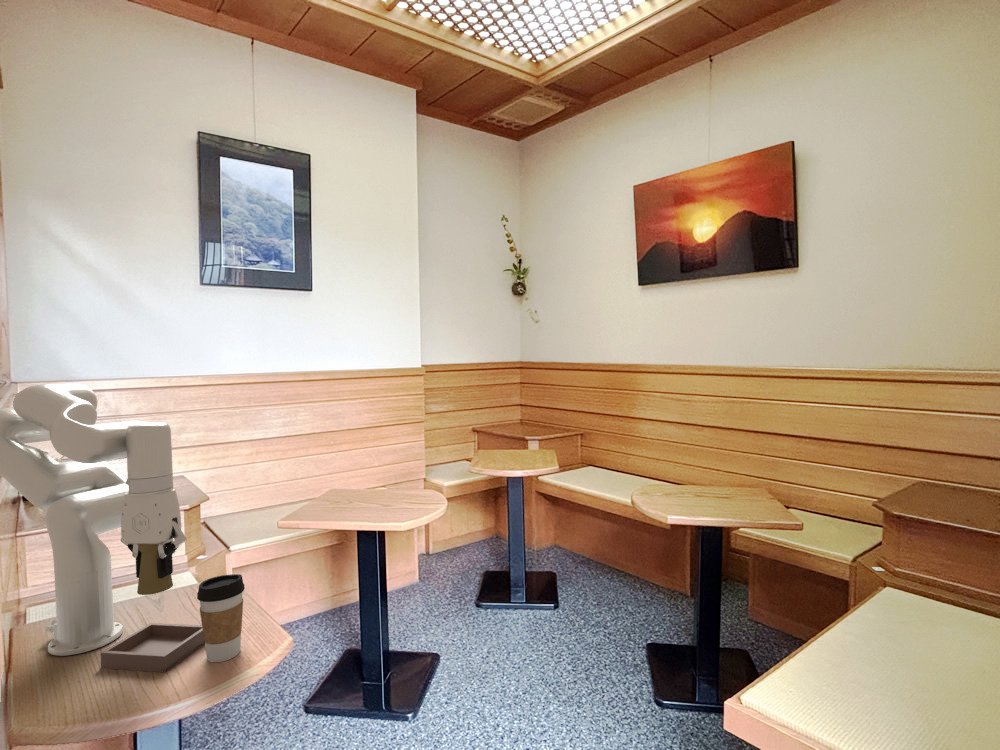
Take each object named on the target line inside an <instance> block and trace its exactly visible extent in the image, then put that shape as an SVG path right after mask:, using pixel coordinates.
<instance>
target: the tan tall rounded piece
mask: <svg viewBox="0 0 1000 750" xmlns="http://www.w3.org/2000/svg"><path fill="white" fill-rule="evenodd" d="M167 544H168V543H166V544H165V548H167ZM138 548H139V551H140V552H141V553H142V554H141V563H140V572H139V578H138V580H137V581H138V583H137V591H136V592H137V594H138V595H139V596H148V595H154V594H159V593H163V592H165V591H166V592H167V590H169V589H171V588H173V586H174V583H173V578H172V574H170V575H168V576H166V577H164V578H158V572H157V559H158V558H160V556H159V551H158V545H148V544H138Z"/></svg>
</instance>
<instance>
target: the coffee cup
mask: <svg viewBox="0 0 1000 750" xmlns="http://www.w3.org/2000/svg"><path fill="white" fill-rule="evenodd" d="M243 580H244V579H243V575H242V574H239V573H238V574H236V573H235V574H231V573H230V574H224V575H222V574H221V575H218V576H213V577H211V578H208V579H205V580H203V581H202V582H200V584H199V585H198V591H197V592H196V593H197V594H196V596H197V597H196V599H197V600H198V601H199V605H200V607H199V614H200V620H201V625H202V628H203V634H204V641H205V644H204V645H205V652H206V659H207V661H208V662H210V663H221V662H225V661H228V660H231V659H233V658H235V657H236V656H237V655H239V654H240V653H241V647H242V646H241V643H242V642H241V640H242V626H243V625H242V624H243V612H244V611H243V609H244V599H243V592H244V591H245V583H244V581H243Z"/></svg>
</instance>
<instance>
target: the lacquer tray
mask: <svg viewBox="0 0 1000 750" xmlns="http://www.w3.org/2000/svg"><path fill="white" fill-rule="evenodd" d="M203 645H205V641H204V634H203V628H202V624H183V623H180V624H179V623H164V622H162V623H160V622H150V623H149V624H147V625H145V626H144V627H141V628H140V629H138V630H136V631H135V632H133V633H132V634H129V635H128V636H126V637H125V638H123V639H121V640H120V641H118V642H116V643H115V644H112V645H111V646H110V647H108V648H106V649H104V650H103V651H101V652H100V668H101V669H106V670H107V669H112V670H122V671H123V670H124V671H138V672H139V671H140V672H142V671H143V672H152V673H153V672H155V673H157V672H158V673H167V671H168V672H169V670H170V669H172V668H173V667H175V666H177V665H178V664H179V663H180V662H182V661H183V660H185V659H186V658H187V657H188V656H190V655H191V654H192V653H194V652H195V651H197V650H198V649H199V648H201V647H202V646H203Z"/></svg>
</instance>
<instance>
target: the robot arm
mask: <svg viewBox="0 0 1000 750" xmlns="http://www.w3.org/2000/svg"><path fill="white" fill-rule="evenodd" d="M12 401H13V402H12V406H13V407H4V408H3V407H2V408H0V477H2V478H3V479H4V480H6V481H7V482H8V483H9V484H10V486H12V487H13V488H14V489H15V490H16V491H17V492H19V494H20V495H22V496H23V497H24V498H25V499H26V500H27V501H28V502H29V503H31V504H32V505H33V506H34V507H36V508H37V509H40V510H45V511H46V513H45V517H44V518H45V526H46V529H47V533H48V536H49V539H50V544H51V549H52V556H53V557H52V558H53V571H54V572H53V574H54V594H55V596H54V597H55V615H56V617H55V618H53V619H52V621H51V623H50V625H49V624H48V625H47V626H46V627H45V628H44V631H45V633H53V639H51V640H50V642H49V643H48V645H47V652H48V654H50V655H52V656H56V657H58V656H60V657H61V656H66V657H67V656H72V655H78V654H79V655H80V654H82V653H87V652H90V651H93V650H96V649H98V648H99V649H100V648H102V647H103V646H106V645H108V644H110V643H112V642H113V641H114V640H117V639H118V638H119V637H120V636H121V635H122V634H123V631H124V627H123V626H124V625H123V624H122V623H120V622H118V621H117V622H116V621H114V601H113V600H114V599H113V598H114V597H113V594H114V593H113V578H112V577H113V576H112V555H111V551H110V549H109V547H108V546H107V545H106V544H105V543H104V542H103V541H102V540H101V539H100V538H99V535H101V534H104V533H105V532H109V531H112V530H115V529H116V530H117V529H120V534H121V537H120V542H121V543H122V544H124V545H125V546H126V547H127V548H128V550H129V552H131V553H132V554H131V555H132V556H131V557H133V558H134V559H135V573H136V574H135V575H136V578H137V579H139V572H140V563H141V554H142V553H141V552H140V551H139V548H138V544H148V545H158V551H159V556H160V558H158V559H157V572H158V578H164V577H166V576H168V575H170V574H171V575H172V574H173V572H174V567H173V566H174V565H173V554H176V551H177V550H178V548H180V546H182V545H183V544H184V543H186V541H187V537H186V536H185V534H184V532H183V531H182V516H181V509H180V503H179V498H178V494H177V491H176V489H174V476H173V475H174V474H173V473H174V472H173V450H172V445H173V444H172V429H171V426H170V425H169V424H168V423H167V422H161V421H157V422H154V421H153V422H146V421H141V420H129V421H121V422H120V421H118V422H108V423H107V422H106V423H99V424H96V423H97V417H98V413H97V408H98V398H97V395H96V393H95V392H94V391H93V390H92V388H90V387H89V386H87V385H84V384H81V383H59V384H57V383H56V384H50V383H49V384H36V385H31V386H28V387H25V388H23V389H21V390H20V391H19V392H18V393H17V394H16V395H15V396H14V398H13V400H12ZM48 441H50V442H51V444H52V446H53V449H54V450H55V452H57V453H58V454H59V455H62V456H63V457H65V458H67V459H69V460H72V461H73V462H58V461H57V460H55V459H54V458H53V457H51V456H50V454H48V452H45V451H43V450H41V449H40V448H37V447H34V446H31V445H27V444H32V443H33V444H34V443H40V442H48ZM123 459H125V460H126V464H127V465H126V468H127V469H126V471H127V478H125V477H124V475H122V474H121V473H120V472H119V471H118V470H117V469H115V468H114V467H113V466H111V465H110V464H108V463H107V462H111V461H117V460H123ZM166 543H168V544H167V547H166V548H165V544H166Z"/></svg>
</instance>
